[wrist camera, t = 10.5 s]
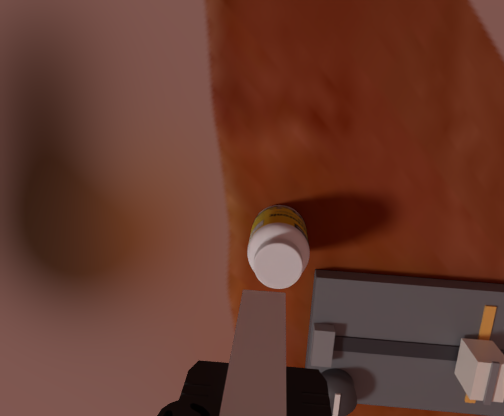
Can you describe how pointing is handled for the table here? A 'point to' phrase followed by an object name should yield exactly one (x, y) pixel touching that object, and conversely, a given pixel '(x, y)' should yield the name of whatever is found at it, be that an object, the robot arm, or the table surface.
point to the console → (399, 339)
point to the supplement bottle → (278, 246)
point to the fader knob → (481, 370)
